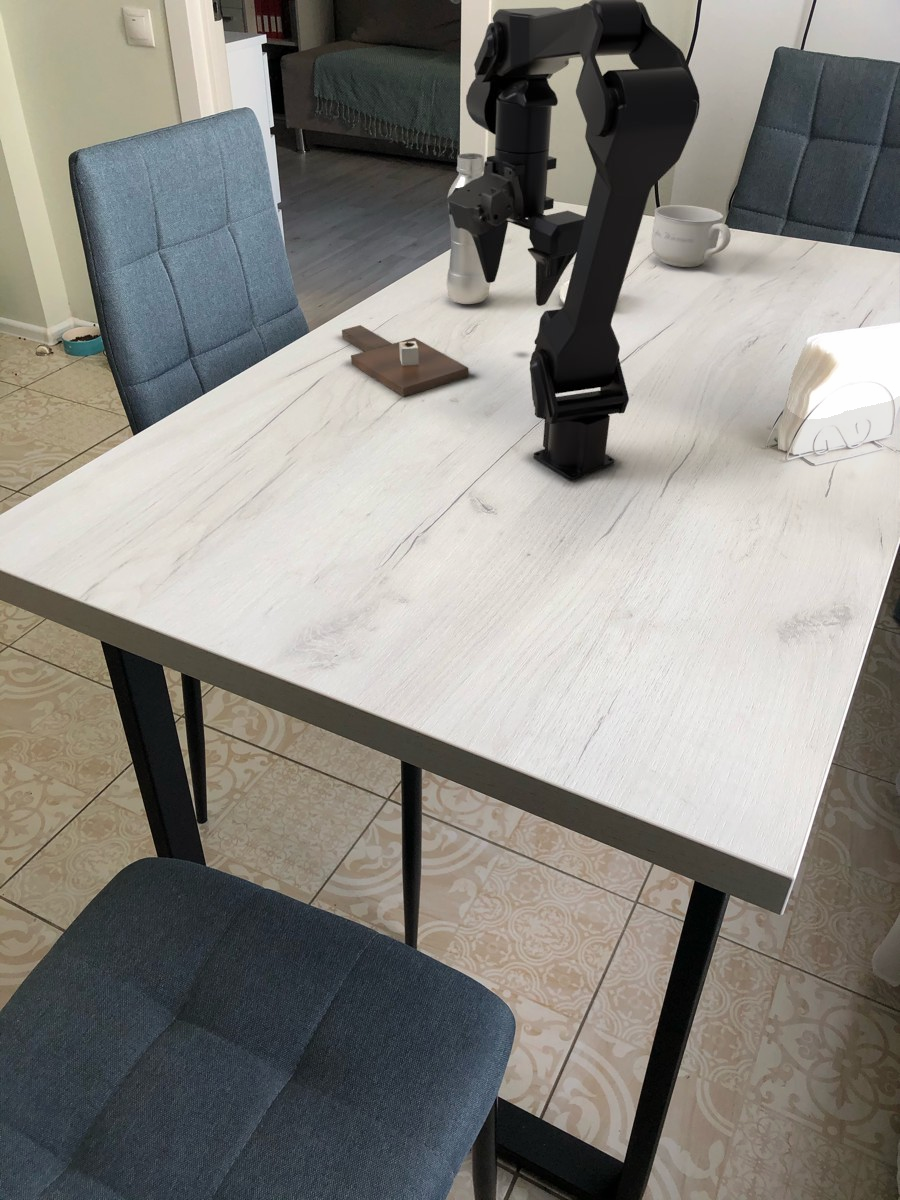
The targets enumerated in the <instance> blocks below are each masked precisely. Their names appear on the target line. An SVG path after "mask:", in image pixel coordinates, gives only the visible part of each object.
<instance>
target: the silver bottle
mask: <svg viewBox="0 0 900 1200" xmlns="http://www.w3.org/2000/svg"><path fill="white" fill-rule="evenodd" d="M484 163H485V157H484V155H483V154H481V153H477V152H476V153H475V152H466V153H460V154H458V155H457V166H456V171H457V172H458V175H457V177H456V178H455V179H454V181H453V183H452V184H451V186H450V188H449V190H448V193H447V199H448V197H449V196H450V195H451V194H452V192H453V191H454V189H455V188H457V187H462V186H464V185H466V184H467V183H469V182H470V181H472V180H474V179H477V178H479V177H481V176H483V173H484ZM447 205H448V206H447V209H448V210H449V203H448V202H447ZM448 216H449V226H450V255H449V265H448V266H449V267H448V270H447V275H446V286H445V287H446V291H447V295H448V297H449V298H450V300H451V301H452V302H455V303H457V304H463V305H471V304H472V305H473V304H478V303H481V302H483V301H485V300H486V299H487V297H488V295H489V293H490V288H491V283H487V282H486V280H485V276H484V273H483V269H482V266H481V263H480V259H479V256H478V252H477V249H476V246H475V243H474V240H473V237H472V235H471V234H470V233H469V232H468V231H467V230H465V229H462V228H460V229H459V228H456V227H455V224H454V221H453V217H452V215H450V214H449V213H448Z"/></svg>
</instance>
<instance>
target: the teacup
mask: <svg viewBox="0 0 900 1200" xmlns="http://www.w3.org/2000/svg"><path fill="white" fill-rule="evenodd" d="M723 220H724V215H723V213H721V212H719V211H717V210H715V209H711V208H707V207H703V206H696V205H687V204H686V205H685V204H684V205H683V204H681V205H680V204H675V205H674V204H671V205H662V206H659V207H656V208H655V209H654V219H653V225H652V232H651V249H652V251H653V252H654V255H656V256H657V258H658V260H659V261H660V262H662V263H663V264H666V265H669V266H673V267H681V268H682V267H683V268H693V267H694V268H695V267H698V266H700V265H702V264H703V263H704V262H705V261H708V260H710V259H711V258H712V257H713V255H716V254H718V253H721V252H722V251H724V250H725V249H726V248H727V247H728V246H729V245H730V242H731V237H732V234H731V230H730V228H729V226H728V225H727V224H726V223H722V222H723ZM720 233H721V241H720V243H719V244H718V240H719V237H720Z"/></svg>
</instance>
